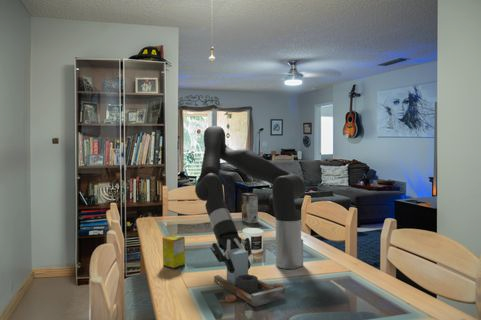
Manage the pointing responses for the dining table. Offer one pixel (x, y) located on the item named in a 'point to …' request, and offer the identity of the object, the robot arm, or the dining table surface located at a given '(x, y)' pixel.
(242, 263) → the gray block
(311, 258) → the dining table surface
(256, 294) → the guide channel
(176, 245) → the supplement box
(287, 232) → the robot arm
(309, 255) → the dining table surface
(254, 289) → the rubber ring
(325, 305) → the dining table surface
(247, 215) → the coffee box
